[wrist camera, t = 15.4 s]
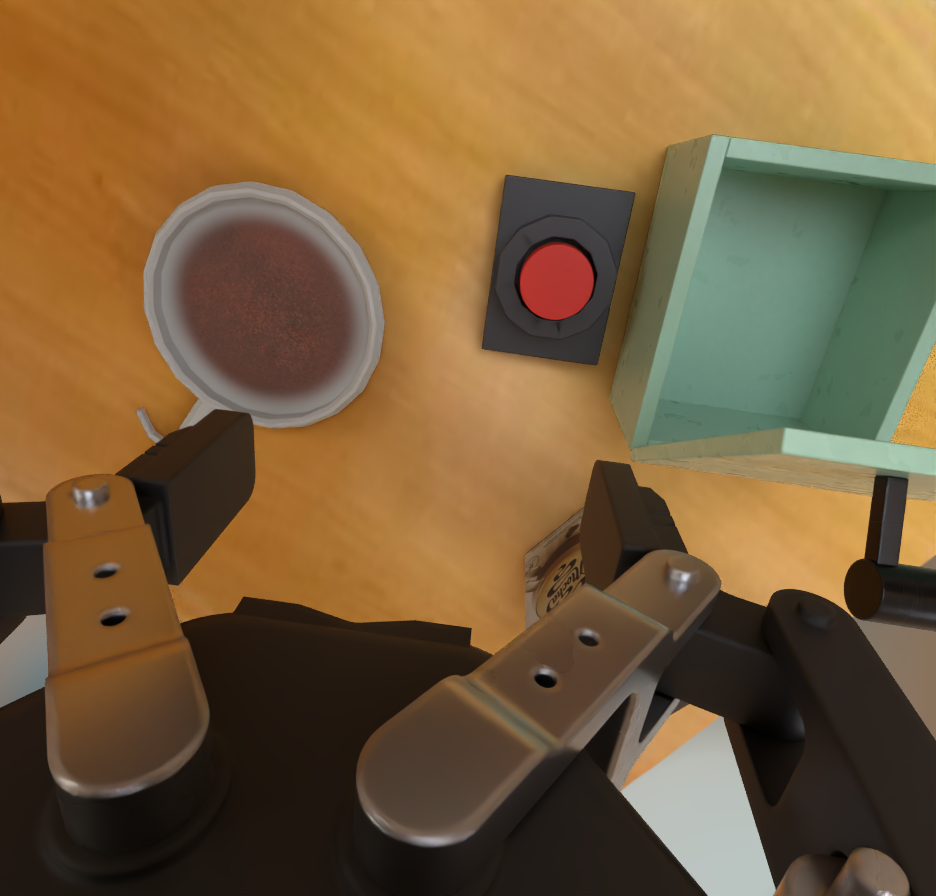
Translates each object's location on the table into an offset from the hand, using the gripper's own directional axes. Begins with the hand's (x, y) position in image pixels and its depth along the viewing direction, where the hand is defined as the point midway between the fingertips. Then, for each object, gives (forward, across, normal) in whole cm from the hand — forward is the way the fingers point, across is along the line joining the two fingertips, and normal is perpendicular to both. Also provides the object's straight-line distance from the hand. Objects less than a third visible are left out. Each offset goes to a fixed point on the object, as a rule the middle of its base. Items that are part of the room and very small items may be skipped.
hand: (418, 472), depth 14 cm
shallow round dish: (+30, +18, +9) cm, 36 cm away
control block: (+30, -5, -1) cm, 30 cm away
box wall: (+30, -18, -1) cm, 35 cm away
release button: (+26, -5, -1) cm, 27 cm away
